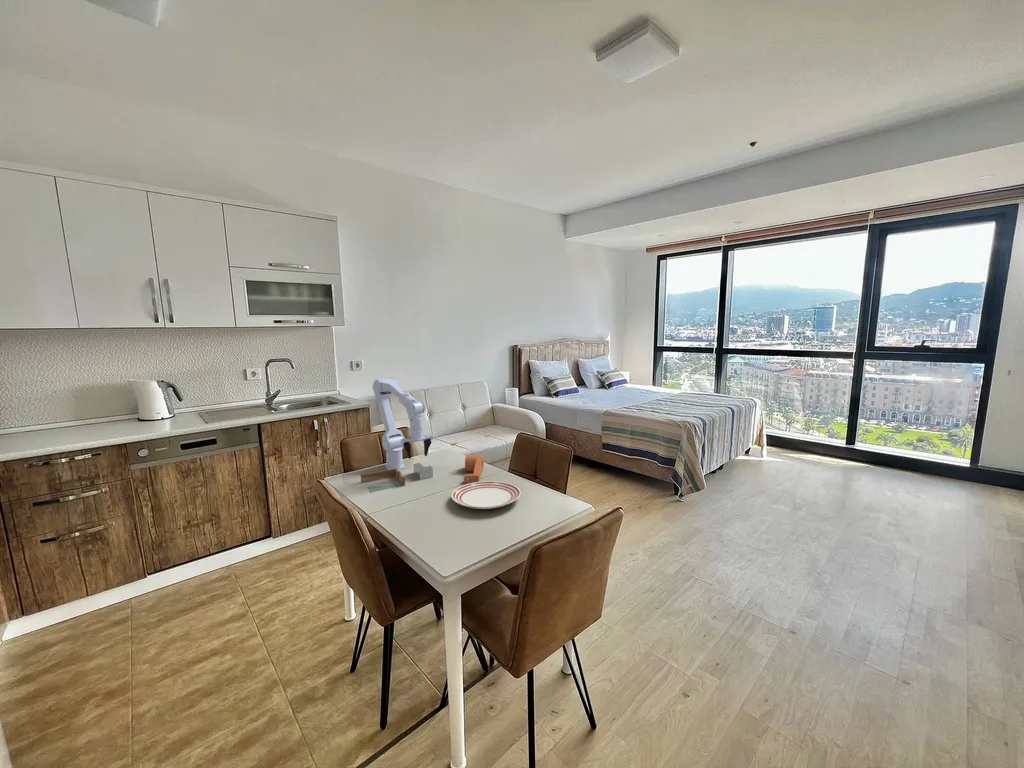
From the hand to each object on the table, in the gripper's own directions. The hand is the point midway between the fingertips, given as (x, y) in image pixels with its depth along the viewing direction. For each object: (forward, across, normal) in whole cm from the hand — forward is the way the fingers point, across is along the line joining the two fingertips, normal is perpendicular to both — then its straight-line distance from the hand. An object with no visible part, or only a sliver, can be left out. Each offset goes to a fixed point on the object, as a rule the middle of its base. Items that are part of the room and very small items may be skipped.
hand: (417, 456), depth 183 cm
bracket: (+9, 0, -1) cm, 9 cm away
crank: (+10, +22, -12) cm, 27 cm away
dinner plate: (+10, +16, -40) cm, 44 cm away
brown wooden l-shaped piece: (+9, -16, -2) cm, 19 cm away
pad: (+9, -16, -4) cm, 19 cm away
